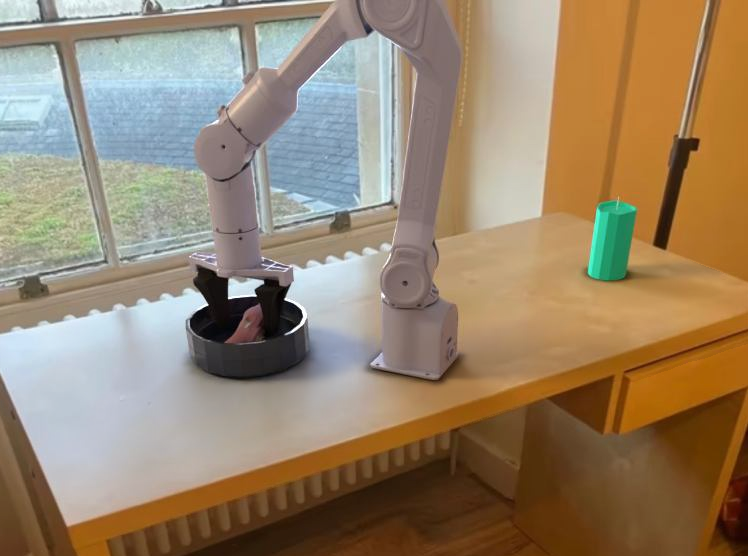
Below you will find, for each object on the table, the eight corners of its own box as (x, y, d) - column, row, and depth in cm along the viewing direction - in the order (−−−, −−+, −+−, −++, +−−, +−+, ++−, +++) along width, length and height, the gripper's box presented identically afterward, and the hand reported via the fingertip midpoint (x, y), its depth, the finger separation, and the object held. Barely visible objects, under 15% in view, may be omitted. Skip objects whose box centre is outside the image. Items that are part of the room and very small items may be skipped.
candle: (586, 266, 132) (597, 190, 125) (623, 267, 131) (636, 191, 124) (589, 280, 127) (600, 202, 120) (628, 281, 126) (641, 202, 119)
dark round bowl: (329, 339, 112) (327, 305, 109) (270, 390, 101) (266, 353, 98) (233, 321, 118) (229, 288, 115) (167, 367, 107) (160, 332, 104)
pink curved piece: (244, 376, 106) (262, 333, 102) (213, 359, 105) (229, 316, 101) (267, 343, 114) (285, 303, 109) (238, 328, 113) (255, 286, 109)
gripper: (167, 229, 99) (185, 332, 107) (268, 243, 94) (279, 350, 102) (201, 213, 104) (215, 312, 112) (298, 225, 99) (306, 328, 107)
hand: (247, 329), depth 107 cm, fingers open, 7 cm apart
